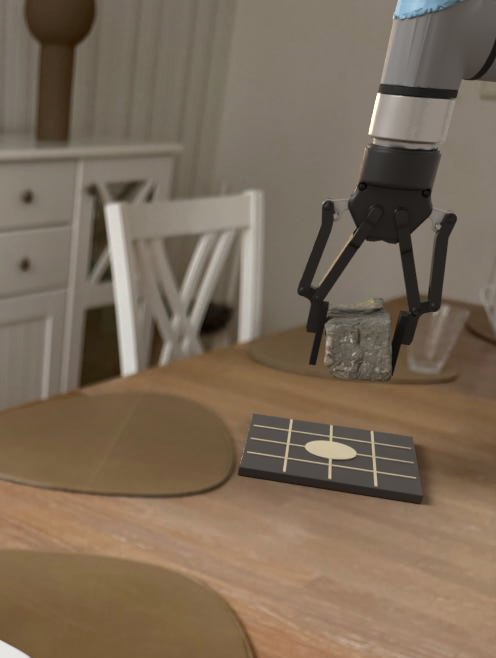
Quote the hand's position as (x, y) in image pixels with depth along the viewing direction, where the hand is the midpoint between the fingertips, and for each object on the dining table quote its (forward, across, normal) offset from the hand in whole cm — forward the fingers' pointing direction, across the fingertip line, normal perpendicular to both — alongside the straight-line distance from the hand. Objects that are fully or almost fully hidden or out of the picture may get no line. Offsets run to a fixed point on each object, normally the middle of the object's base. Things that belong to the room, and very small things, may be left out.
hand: (350, 366), depth 112 cm
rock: (0, 0, 0) cm, 1 cm away
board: (+11, 0, 0) cm, 11 cm away
